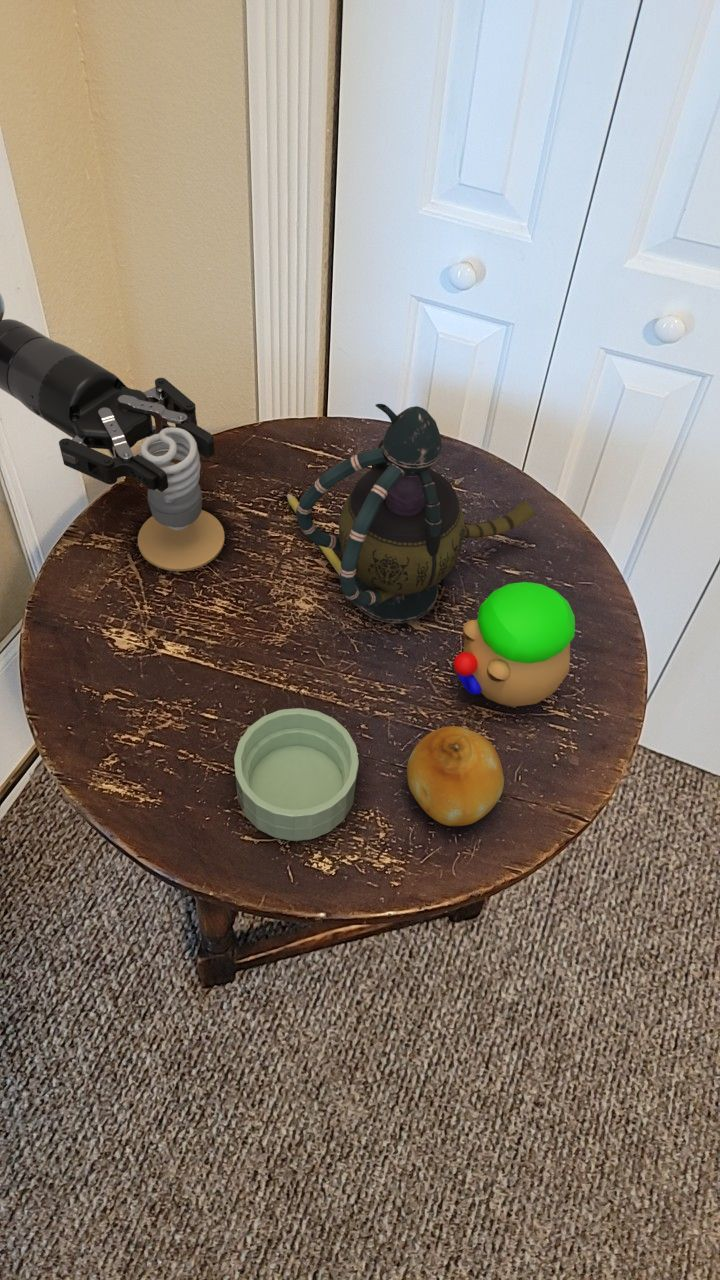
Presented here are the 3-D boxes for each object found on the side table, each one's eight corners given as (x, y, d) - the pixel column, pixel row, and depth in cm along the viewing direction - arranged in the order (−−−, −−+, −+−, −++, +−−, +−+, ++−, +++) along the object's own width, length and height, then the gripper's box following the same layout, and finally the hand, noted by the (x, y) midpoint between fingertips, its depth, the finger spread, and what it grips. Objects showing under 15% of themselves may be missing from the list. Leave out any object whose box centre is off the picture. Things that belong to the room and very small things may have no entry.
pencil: (289, 492, 103) (289, 486, 102) (349, 578, 96) (350, 571, 95) (281, 495, 103) (281, 489, 102) (341, 581, 95) (341, 575, 95)
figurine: (525, 632, 93) (552, 550, 83) (576, 707, 87) (610, 629, 78) (424, 665, 90) (439, 583, 80) (469, 745, 84) (491, 668, 75)
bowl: (265, 862, 76) (263, 835, 72) (219, 763, 82) (216, 733, 78) (375, 815, 80) (379, 786, 76) (324, 723, 85) (326, 692, 81)
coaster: (154, 582, 94) (154, 579, 94) (126, 523, 99) (126, 520, 98) (237, 555, 97) (237, 553, 96) (206, 500, 102) (206, 497, 101)
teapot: (289, 576, 95) (288, 391, 77) (493, 505, 104) (535, 322, 85) (343, 662, 89) (355, 482, 71) (555, 578, 97) (615, 398, 79)
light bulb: (203, 548, 95) (193, 459, 85) (147, 545, 95) (132, 456, 85) (209, 509, 98) (201, 419, 89) (155, 506, 98) (141, 416, 88)
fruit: (372, 780, 79) (426, 760, 72) (421, 720, 84) (476, 696, 77) (435, 850, 80) (493, 836, 73) (480, 786, 85) (538, 767, 78)
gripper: (-1, 392, 87) (127, 475, 81) (114, 326, 94) (239, 397, 88) (17, 454, 92) (138, 535, 87) (124, 386, 100) (241, 457, 94)
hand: (188, 465), depth 88 cm, fingers closed on light bulb, 5 cm apart
